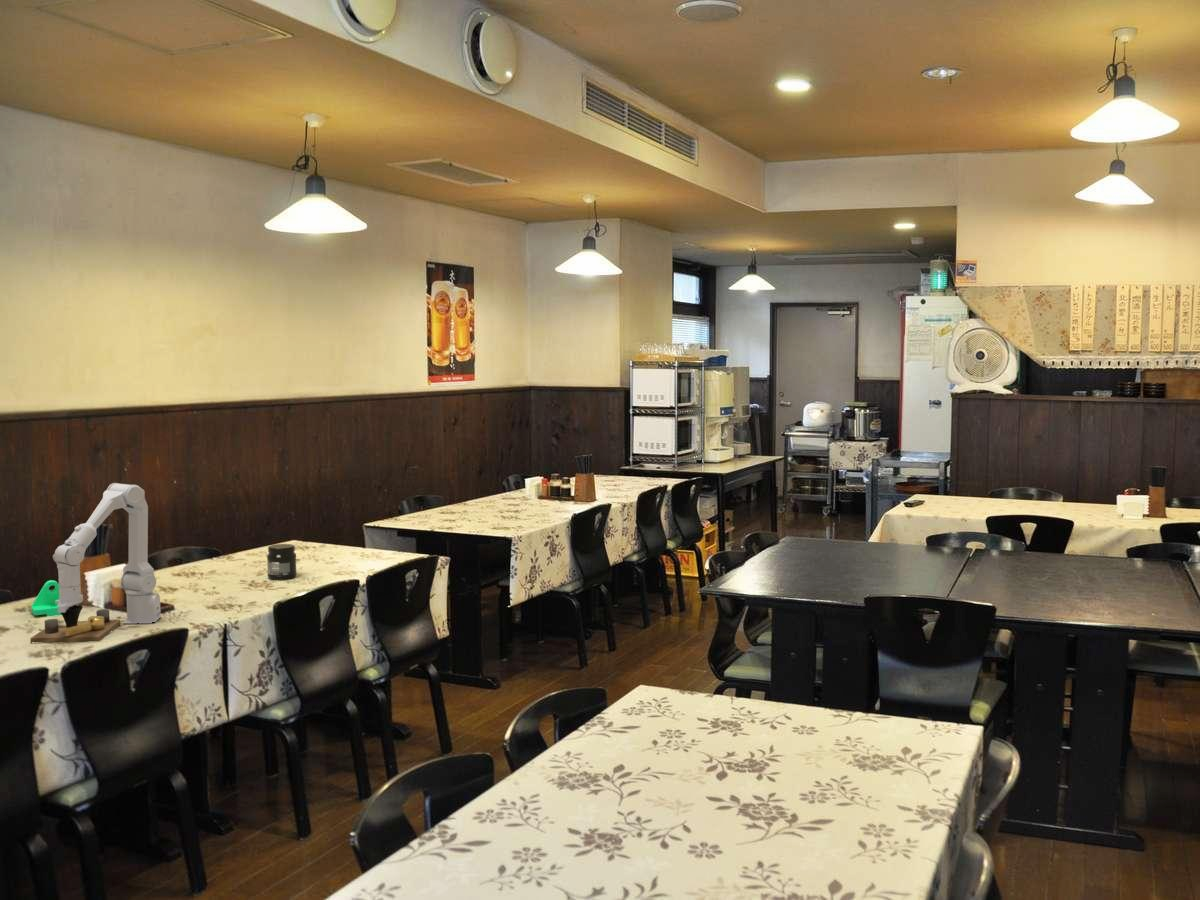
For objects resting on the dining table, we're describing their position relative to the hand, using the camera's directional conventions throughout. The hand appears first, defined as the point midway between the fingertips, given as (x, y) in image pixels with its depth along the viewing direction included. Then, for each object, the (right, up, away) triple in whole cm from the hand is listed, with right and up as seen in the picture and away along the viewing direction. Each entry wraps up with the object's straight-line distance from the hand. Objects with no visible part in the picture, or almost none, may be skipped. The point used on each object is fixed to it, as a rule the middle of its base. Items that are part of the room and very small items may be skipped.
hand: (71, 630), depth 319 cm
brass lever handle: (+3, 0, +2) cm, 4 cm away
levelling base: (-1, -2, +5) cm, 6 cm away
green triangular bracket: (-20, 0, +30) cm, 37 cm away
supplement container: (+37, +5, +85) cm, 93 cm away
